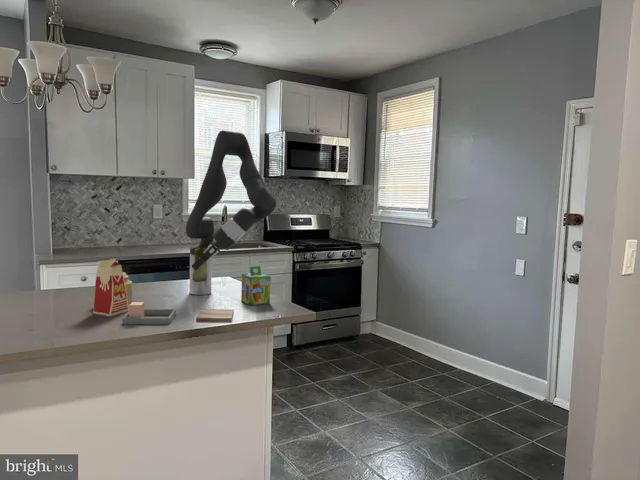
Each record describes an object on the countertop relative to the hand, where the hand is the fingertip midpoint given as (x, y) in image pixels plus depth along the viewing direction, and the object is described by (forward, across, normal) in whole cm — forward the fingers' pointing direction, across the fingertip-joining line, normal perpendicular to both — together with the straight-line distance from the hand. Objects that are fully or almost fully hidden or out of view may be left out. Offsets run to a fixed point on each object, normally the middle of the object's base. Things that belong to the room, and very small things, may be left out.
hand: (195, 266), depth 165 cm
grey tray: (+23, +2, +2) cm, 24 cm away
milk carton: (+35, -6, -9) cm, 36 cm away
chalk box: (-1, -23, +28) cm, 36 cm away
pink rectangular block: (+26, +4, 0) cm, 27 cm away
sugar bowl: (+36, -20, -11) cm, 43 cm away
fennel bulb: (+3, 0, +5) cm, 6 cm away
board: (+8, -1, +18) cm, 20 cm away
